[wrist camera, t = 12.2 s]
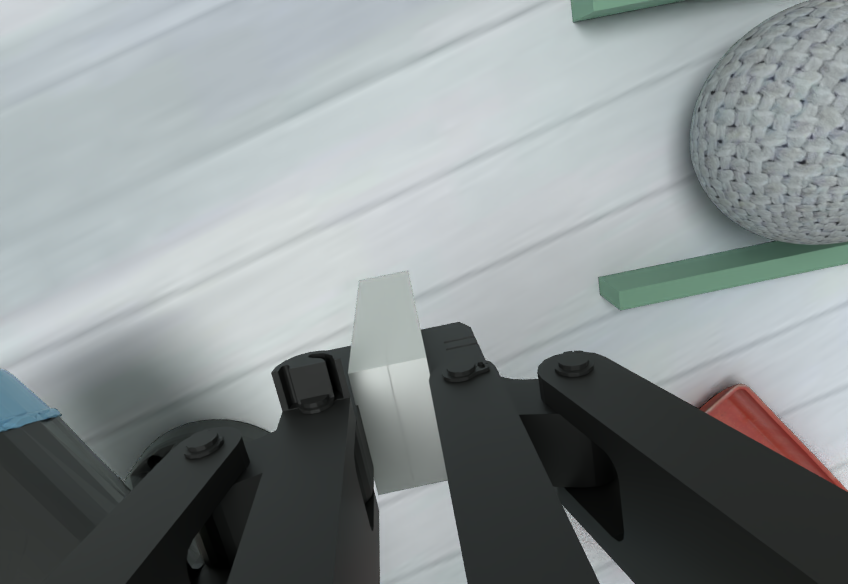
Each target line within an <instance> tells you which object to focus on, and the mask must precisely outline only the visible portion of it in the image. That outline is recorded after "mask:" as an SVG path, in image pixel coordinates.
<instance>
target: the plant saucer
mask: <svg viewBox="0 0 848 584" xmlns="http://www.w3.org/2000/svg"><path fill="white" fill-rule="evenodd" d="M700 410H701V411H703V412H705V413H707V414H709V415H710V416H712V417H714V418H716V419H718V420H719V421H721V422H723V423H725V424H727V425H728V426H730V427H732V428H734V429H736V430H737V431H739V432H741V433H743V434H745V435H746V436H748V437H750V438H752V439H754V440H755V441H757V442H759V443H761V444H763V445H764V446H766V447H768V448H770V449H772V450H773V451H775V452H777V453H779V454H780V455H782V456H784V457H786V458H788V459H789V460H791V461H793V462H795V463H797V464H798V465H800V466H802V467H804V468H806V469H807V470H809V471H811V472H813V473H815V474H816V475H818V476H820V477H822V478H824V479H825V480H827V481H829V482H831V483H833V484H834V485H836V486H838V487H840V488H842V489H843V490H845V491H847V492H848V490H847V489H846V488H845V487H844V486H843V485H842V484H841V483H840V482H839V481H838V480H837V479H836V478H835V477H834V476H833V474H832V473H831V472H830V471H829V470H828V469H827V468H826V467H825V466H824V465H823V464H822V463H821V462H820V461H819V460H818V459H817V457H816V456H815V455H814V454H813V453H812V452H811V451H810V450H809V449H808V448H807V447H806V446H805V445H804V444H803V443H802V442H801V441H800V440H799V439H798V438H797V437H796V436H795V435H794V434H793V432H792V431H791V430H790V429H788V427H787V426H786V425H785V424H784V423H783V422H782V421H781V420H780V419H779V418H778V417H777V416H776V415H775V414H774V413H773V412H772V411H771V410H770V409H769V408H768V407H767V406H766V405H765V403H764V402H763V401H762V400H761V399H760V398H759V397H758V396H757V395H756V394H755V393H754V392H753V391H752V390H751V389H750V388H749V387H748V386H747V385H745V384H738V385H735V386H732V387H729V388H727V389H725V390H723V391H721V392H720V393H718V394H717V395H715V396H714V397H713V398H711V399H710V400H709V401H708V402H707V403H706V404H704V405H703V406H702V407H701V408H700Z"/></svg>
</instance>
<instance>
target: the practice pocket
mask: <svg viewBox="0 0 848 584" xmlns="http://www.w3.org/2000/svg"><path fill="white" fill-rule="evenodd" d="M679 1H684V0H571V7H572V17H573V22H577V21H582V20H587V19H592V18H597V17H602V16H607V15H613V14H618V13H623V12H628V11H633V10H638V9H643V8H648V7H654V6H659V5H664V4H669V3H674V2H679ZM843 264H848V242H842V243H835V244H823V245H806V244H793V243H787V242H781V241H773V242H768V243H764V244H759V245H754V246H749V247H744V248H739V249H734V250H729V251H725V252H720V253H715V254H710V255H705V256H700V257H695V258H690V259H686V260H681V261H676V262H671V263H666V264H661V265H656V266H651V267H647V268H642V269H637V270H632V271H627V272H622V273H617V274H612V275H608V276H603V277H598V278H599V288H600V295H601V296H602V297H604V298H605V299H606V300H608V301H609V302H610V303H611V304H613V305H614V306H615V307H617V308H618V309H619V310H625V309H630V308H635V307H639V306H644V305H649V304H654V303H659V302H664V301H669V300H673V299H678V298H683V297H688V296H693V295H698V294H702V293H707V292H712V291H717V290H722V289H727V288H731V287H736V286H741V285H746V284H751V283H756V282H761V281H765V280H770V279H775V278H780V277H785V276H790V275H794V274H799V273H804V272H809V271H814V270H819V269H823V268H828V267H833V266H838V265H843Z"/></svg>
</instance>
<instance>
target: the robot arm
mask: <svg viewBox="0 0 848 584" xmlns="http://www.w3.org/2000/svg"><path fill="white" fill-rule="evenodd" d="M537 373H538V379H528V380H519V379H509V378H504V377H501V376H500V375H499V373H498V371H497V368H496V367H495V366H494V365H493V364H492V363H491V362H489V361H486V360H485V358H484V356H483V354H482V351H481V349H480V347H479V345H478V343H477V340H476V338H475V337H474V334H473V332H472V330H471V327H469V326H467V325H465V324H463V323H460V322H456V323H451V324H447V325H442V326H437V327H432V328H427V329H422V330H421V329H420V325H419V320H418V315H417V310H416V305H415V301H414V296H413V291H412V286H411V282H410V277H409V272H408V271H403V272H399V273H394V274H389V275H384V276H379V277H374V278H369V279H364V280H359V284H358V293H357V301H356V310H355V318H354V326H353V335H352V343H351V346H347V347H342V348H338V349H333V350H328V351H315V352H308V353H305V354H301V355H298V356H295V357H293V358H291V359H288V360H286V361H284V362H283V363H281V364H280V365H278V366H277V367H276V368H275V369H274V370H273V371H272V373H271V374H272V377H273V381H274V384H275V387H276V391H277V394H278V397H279V401H280V404H281V408H282V411H283V412H282V415H281V418H280V421H279V424H278V427H277V430H276V431H274V432H272V433H269V432H267V431H265V430H263V429H260V428H258V427H255V426H252V425H249V424H246V423H242V422H237V421H230V420H204V421H198V422H193V423H189V424H186V425H183V426H180V427H177V428H175V429H173V430H171V431H169V432H167V433H166V434H164V435H162V436H161V437H160V438H158V439H157V440H156V441H154V442H153V443H152V444H151V445H150V446H149V447H148V448H147V449H146V451H145V452H144V453H143V454H142V456H141V457H140V459H139V460H138V461H137V463H136V464H135V466H134V467H133V469H132V470H131V472H130V473H129V475H128V477H127V479H126V481H125V484H124V483H123V482H122V481H121V480H120V479H119V478H118V477H117V476H116V475H115V474H114V473H113V472H112V471H111V469H110V468H109V467H108V466H107V465H106V464H105V463H104V462H103V461H102V460H101V459H100V458H99V457H98V456H97V455H96V454H95V453H94V452H93V451H92V450H91V449H90V448H89V447H88V446H87V445H86V444H85V443H84V442H83V441H82V440H81V439H80V438H79V437H78V436H77V435H76V434H75V433H74V432H73V430H72V429H71V428H70V427H69V426H68V425H67V424H66V423H65V422H64V421H63V420H62V419H61V418H60V417H61V416H62V414H60V412H59V411H58V410H57V409H53V408H50V407H49V406H47V405H46V404H45V403H44V402H43V401H42V400H41V399H40V398H38V397H37V396H36V395H35V394H34V393H33V392H32V391H31V390H29V389H28V388H27V387H26V386H25V385H24V384H23V383H21V382H20V381H19V380H18V379H17V378H16V377H15V376H14V375H13V374H11V373H10V372H8V371H6V370H4V369H1V368H0V584H380V562H379V508H378V504H377V500H376V496H375V493H374V479H375V483H376V487H377V491H378V495H381V494H385V493H390V492H395V491H399V490H404V489H409V488H414V487H418V486H423V485H428V484H433V483H437V482H442V481H447V480H448V484H449V489H450V494H451V499H452V504H453V510H454V515H455V520H456V525H457V530H458V535H459V541H460V546H461V551H462V556H463V561H464V567H465V572H466V577H467V582H468V584H600V583H599V581H598V579H597V577H596V575H595V573H594V571H593V569H592V567H591V565H590V562H589V560H588V558H587V556H586V554H585V552H584V550H583V548H582V546H581V544H580V542H579V539H578V537H577V535H576V533H575V531H574V529H573V527H572V525H571V523H570V521H569V519H568V517H567V514H566V512H565V510H564V508H563V506H564V507H565V508H566V509H567V510H568V511H569V513H570V514H571V515H572V516H573V517H574V518H575V519H576V520H577V521H578V522H579V523H580V524H581V526H582V527H583V528H584V529H585V530H586V531H587V532H588V533H589V534H590V535H591V536H592V537H593V539H594V540H595V541H596V542H597V543H598V544H599V545H600V546H601V547H602V548H603V549H604V550H605V552H606V553H607V554H608V555H609V556H610V557H611V558H612V559H613V560H614V561H615V562H616V563H617V565H618V566H619V567H620V568H621V569H622V570H623V571H624V572H625V573H626V574H627V575H628V576H629V578H630V579H631V580H632V581H633V582H634V583H635V584H848V492H847V491H845V490H843V489H842V488H840V487H838V486H836V485H834V484H833V483H831V482H829V481H827V480H825V479H824V478H822V477H820V476H818V475H816V474H815V473H813V472H811V471H809V470H807V469H806V468H804V467H802V466H800V465H798V464H797V463H795V462H793V461H791V460H789V459H788V458H786V457H784V456H782V455H780V454H779V453H777V452H775V451H773V450H772V449H770V448H768V447H766V446H764V445H763V444H761V443H759V442H757V441H755V440H754V439H752V438H750V437H748V436H746V435H745V434H743V433H741V432H739V431H737V430H736V429H734V428H732V427H730V426H728V425H727V424H725V423H723V422H721V421H719V420H718V419H716V418H714V417H712V416H710V415H709V414H707V413H705V412H703V411H701V410H700V409H698V408H696V407H694V406H692V405H691V404H689V403H687V402H685V401H683V400H682V399H680V398H678V397H676V396H674V395H673V394H671V393H669V392H667V391H666V390H664V389H662V388H660V387H658V386H657V385H655V384H653V383H651V382H649V381H648V380H646V379H644V378H642V377H640V376H639V375H637V374H635V373H633V372H631V371H630V370H628V369H626V368H624V367H622V366H621V365H619V364H617V363H615V362H613V361H612V360H610V359H608V358H606V357H604V356H601V355H598V354H596V353H589V352H583V351H574V352H572V351H568V352H564V353H563V354H559V355H555V356H552V357H550V358H548V359H546V360H544V361H543V362H542V363H541V364H540V365H539V366H538V372H537ZM562 505H563V506H562Z"/></svg>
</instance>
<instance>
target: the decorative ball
mask: <svg viewBox="0 0 848 584" xmlns="http://www.w3.org/2000/svg"><path fill="white" fill-rule="evenodd" d="M690 153H691V159H692V163H693V167H694V170H695V172H696V175H697V177H698V179H699V182H700V184H701V186H702V187H703V189H704V191H705V192H706V194H707V195H708V197H709V198H710V199H711V201H712V202H713V203H714V204H715V205H716V207H717V208H718V209H719V210H720V211H721V212H722V213H723V214H725V215H726V216H727V217H728V218H730V219H731V220H732V221H734V222H735V223H737V224H738V225H740V226H741V227H743V228H745V229H747V230H749V231H751V232H753V233H755V234H758V235H760V236H763V237H766V238H769V239H773V240H777V241H781V242H787V243H793V244H806V245H823V244H835V243H842V242H848V0H809V1H806V2H803V3H800V4H797V5H795V6H793V7H790V8H788V9H786V10H783V11H782V12H780V13H778V14H776V15H774V16H772V17H770V18H769V19H767V20H765V21H764V22H762V23H761V24H759V25H758V26H756V27H755V28H753V29H752V30H751V31H749V32H748V33H747V34H746V35H744V36H743V37H742V38H741V39H740V40H739V41H738V42H736V43H735V44H734V45H733V46H732V47H731V48H730V49H729V51H728V52H727V53H726V54H725V55H724V56H723V57H722V58H721V60H720V61H719V62H718V64H717V65H716V66H715V68H714V69H713V71H712V72H711V74H710V75H709V77H708V79H707V80H706V82H705V84H704V86H703V88H702V90H701V92H700V95H699V97H698V100H697V103H696V106H695V109H694V113H693V117H692V123H691V130H690Z"/></svg>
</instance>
